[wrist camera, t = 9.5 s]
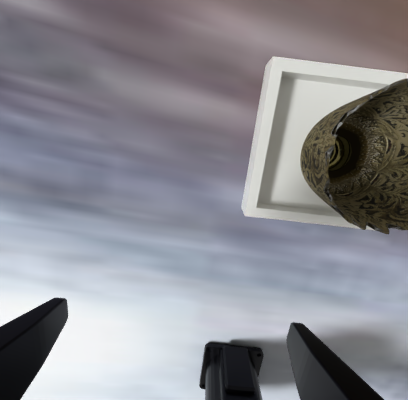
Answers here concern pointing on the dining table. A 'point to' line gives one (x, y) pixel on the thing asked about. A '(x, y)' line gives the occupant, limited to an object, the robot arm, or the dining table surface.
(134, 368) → the dining table surface
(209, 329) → the dining table surface
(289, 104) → the white tray
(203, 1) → the dining table surface
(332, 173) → the brown hollow flared piece
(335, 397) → the robot arm
